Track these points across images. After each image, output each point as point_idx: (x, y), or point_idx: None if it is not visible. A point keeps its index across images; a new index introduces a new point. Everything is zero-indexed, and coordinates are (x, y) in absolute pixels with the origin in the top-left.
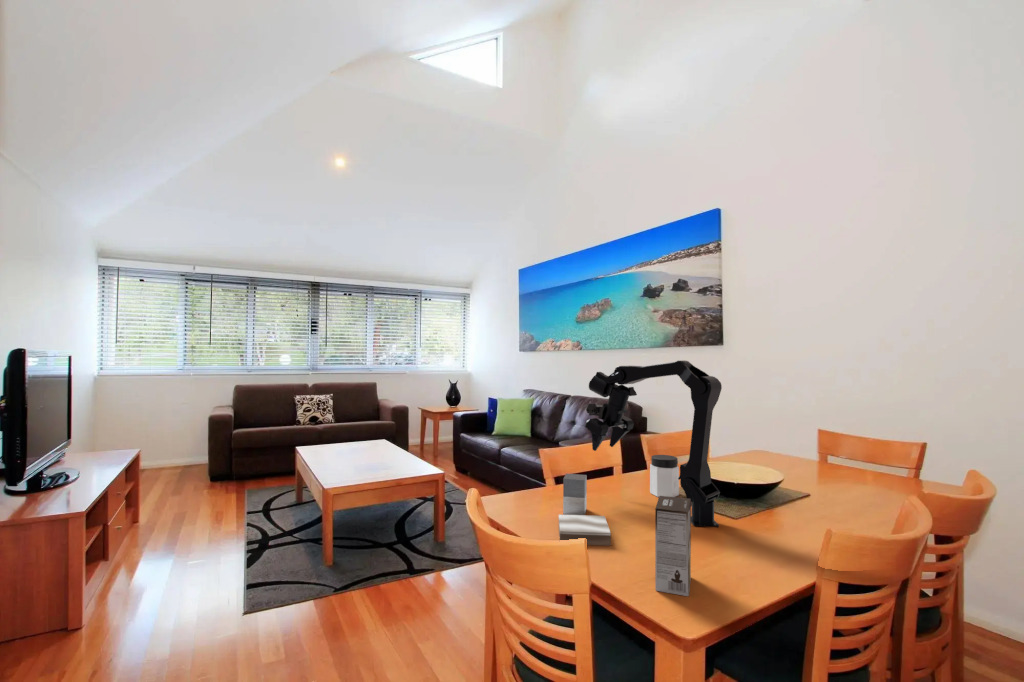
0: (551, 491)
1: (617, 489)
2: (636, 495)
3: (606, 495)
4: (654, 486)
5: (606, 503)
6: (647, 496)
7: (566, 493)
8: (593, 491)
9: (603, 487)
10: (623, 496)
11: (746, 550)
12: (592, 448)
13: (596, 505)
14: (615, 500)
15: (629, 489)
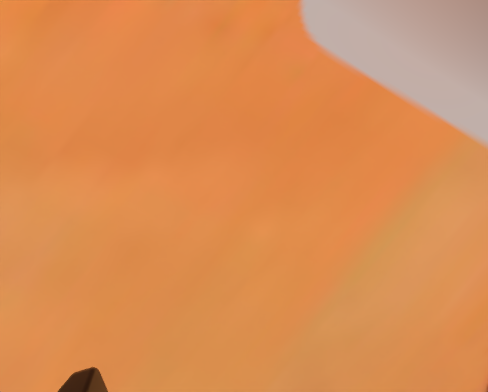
0: (29, 22)
1: (400, 179)
2: (414, 315)
3: (271, 241)
4: None
5: (174, 358)
6: (452, 355)
7: None
8: (255, 145)
9: (357, 110)
10: (341, 298)
11: None
12: (65, 384)
13: (100, 363)
14: (254, 336)
15: (456, 210)
